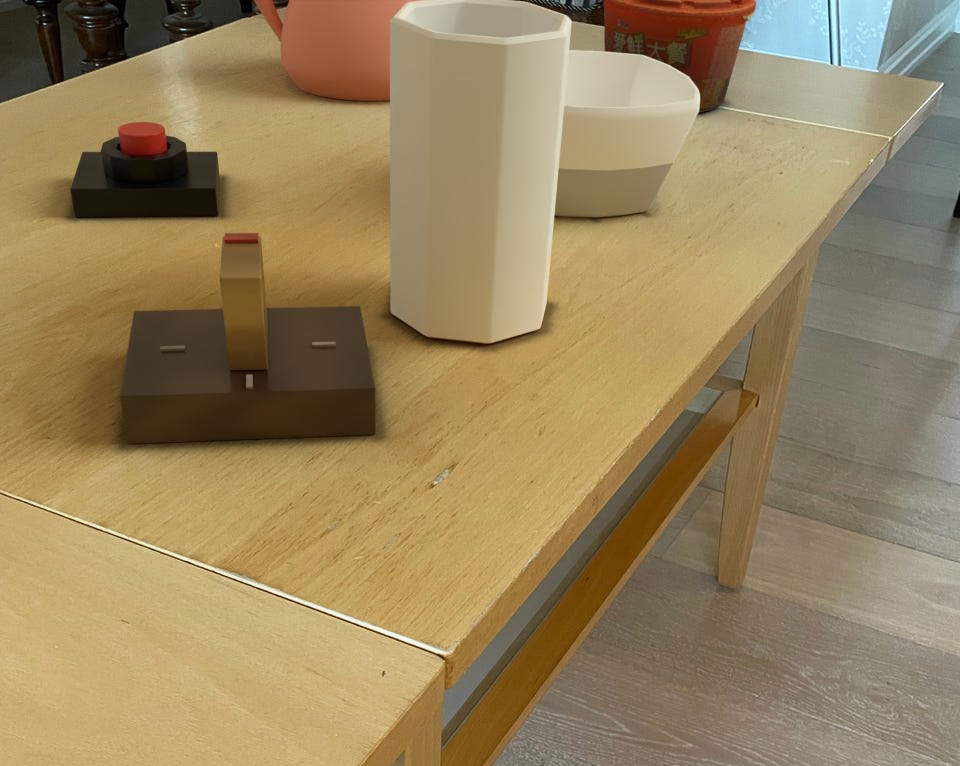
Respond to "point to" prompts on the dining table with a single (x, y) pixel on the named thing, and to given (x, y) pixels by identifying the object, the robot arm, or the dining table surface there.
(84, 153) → the button block
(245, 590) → the dining table surface
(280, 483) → the dining table surface
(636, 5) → the food container
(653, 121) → the bowl
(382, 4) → the teapot
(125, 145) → the button
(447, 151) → the cup
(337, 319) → the plate
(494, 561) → the dining table surface
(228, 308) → the lock knob
